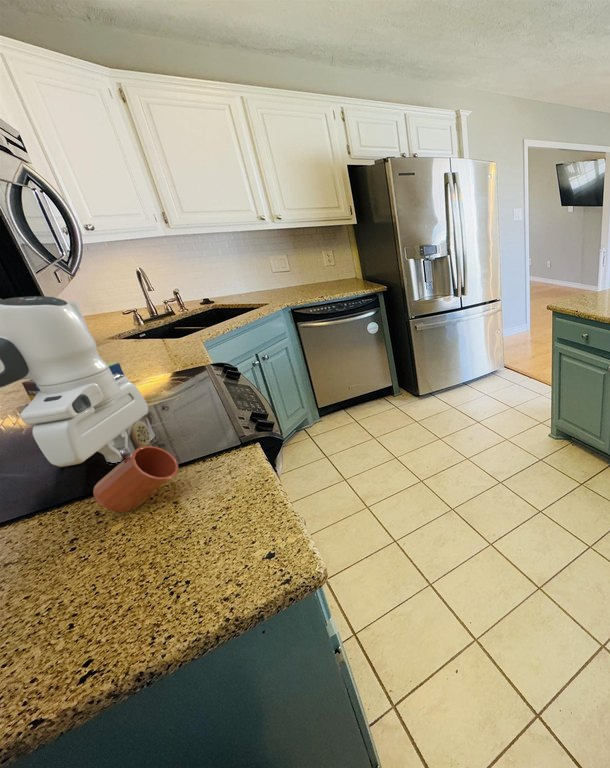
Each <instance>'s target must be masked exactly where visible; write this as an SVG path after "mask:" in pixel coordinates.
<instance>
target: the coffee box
mask: <svg viewBox="0 0 610 768" xmlns="http://www.w3.org/2000/svg"><path fill="white" fill-rule="evenodd" d="M125 431H126V433H127V434H128V445H127V446H128V448H129V449H130V451H131V453H132V452H134V451H135V450H136V449H137V448H139V447H143V446H147V445H148V444H149V442H150V441H151V440H152V439H153V438H154V437H155V436H156V434H155V432H154V430H153V427H152V424H151V423H150V420H149V418H148V415H147V414H146V415H145V416H143V417H142V418H141V419H139V420H138V421H137V422H135V423H134V424H133V425H131V426H130V427H129V428H127V429H126V430H125ZM113 447H114V445H113ZM131 453H130V454H131ZM130 454H129V455H130ZM129 455H127V456H126V457H125V458H127V457H128V456H129ZM103 458H104V459H105V461H106V463H107V462H110V461H109V459H108V458H107V456H105V455H103Z"/></svg>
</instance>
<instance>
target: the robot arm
mask: <svg viewBox="0 0 610 768" xmlns="http://www.w3.org/2000/svg"><path fill="white" fill-rule="evenodd" d="M67 302H68V301H66V300H64V299H61V298H57V297H54V296H46V295H45V296H43V295H42V296H41V295H39V296H38V295H33V296H31V295H29V296H17V297H16V296H15V297H10V298H4V299H2V298H1V297H0V389H1V388H5V387H7V386H9V385H11V384H13V383H16V382H18V381H22V380H33V381H34V382H35V383H36V384H37V386H38V387H39V389H40V391H39V392H38V393H37V394H36V396H35V397H34V399H33V400H32V401H31V400H30V402H29V403H28V405H26V407H25V408H23V410H22V411H21V412H20V419H21V421H22V422H23V423H24V424H25V425H33V426H32V436H33V439H34V440H35V442H36V444H37V446H38V448H39V449H40V451H41V452H42V454H43V455H44V457H45V458H46V460H47V461H48V462H49V464H51V465H53V466H56V467H60V468H63V467H69V466H75V465H79V464H82V463H84V462H85V461H86V460H87V459H89V458H90V457H92V456H93V455H95V453H97V452H98V453H100V454H102V455H103V456H104V455H105V456H107V458H108V459H109V461H110V462H111V463H116V464H118V463H117V462H121V461H122V460H123V459H124V458H125V457H126V456H127V455H129V454H130V453H131V451H130V449H129V448H128V446H127V445H128V434H127V433H126V431H125V430H126V429H127V428H129V427H130V426H131V425H133V424H134V423H135V422H137V421H138V420H139V419H141V418H142V417H143V416H145V415H147V414H149V405H148V402H147V401H146V399H145V397H144V396H143V395H142V393H141V391H140V390H139V389H138V387H137V386H136V385H135V384H134V383H133V382H131V381H130V380H129V378H128V377H127V376H125V375H124V376H123V375H120V374H112V372H111V370H110V368H109V367H108V365H107V364H106V363H107V362H106V361H104V360H103V358H102V357H101V356H100V353H99V352H98V346H97V342H96V340H95V338H94V336H93V335H92V333H91V331H90V329H89V327H88V325H87V326H86V325H85V323H84V321H83V320H82V318H81V317H80V316H79V314H78V313H77V312H76V310H75V309H74V308H73V307H72V306H71V305H70V304H69V303H67ZM87 327H88V328H87ZM113 445H114V447H113Z"/></svg>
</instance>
